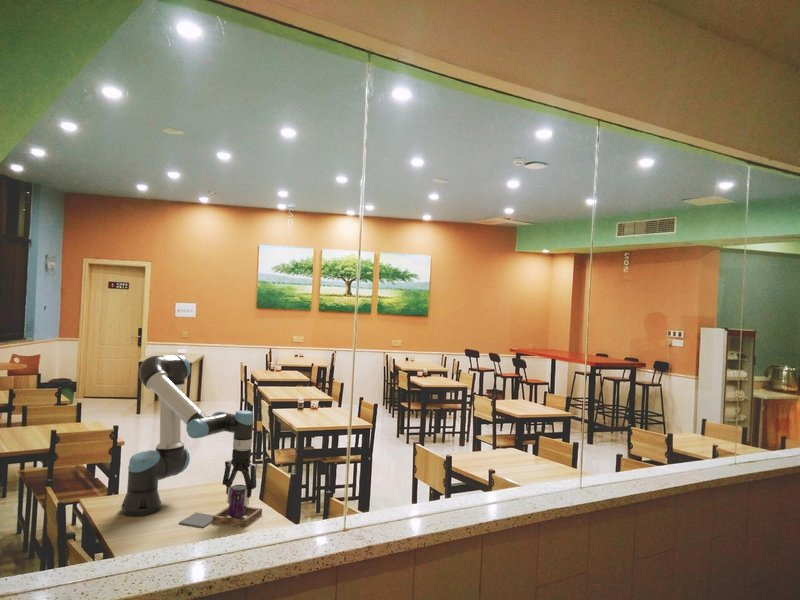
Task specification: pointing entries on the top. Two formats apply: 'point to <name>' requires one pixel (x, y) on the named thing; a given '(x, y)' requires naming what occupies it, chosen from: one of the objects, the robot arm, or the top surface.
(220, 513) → the frame
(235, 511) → the beverage can
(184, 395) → the robot arm
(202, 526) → the coaster
